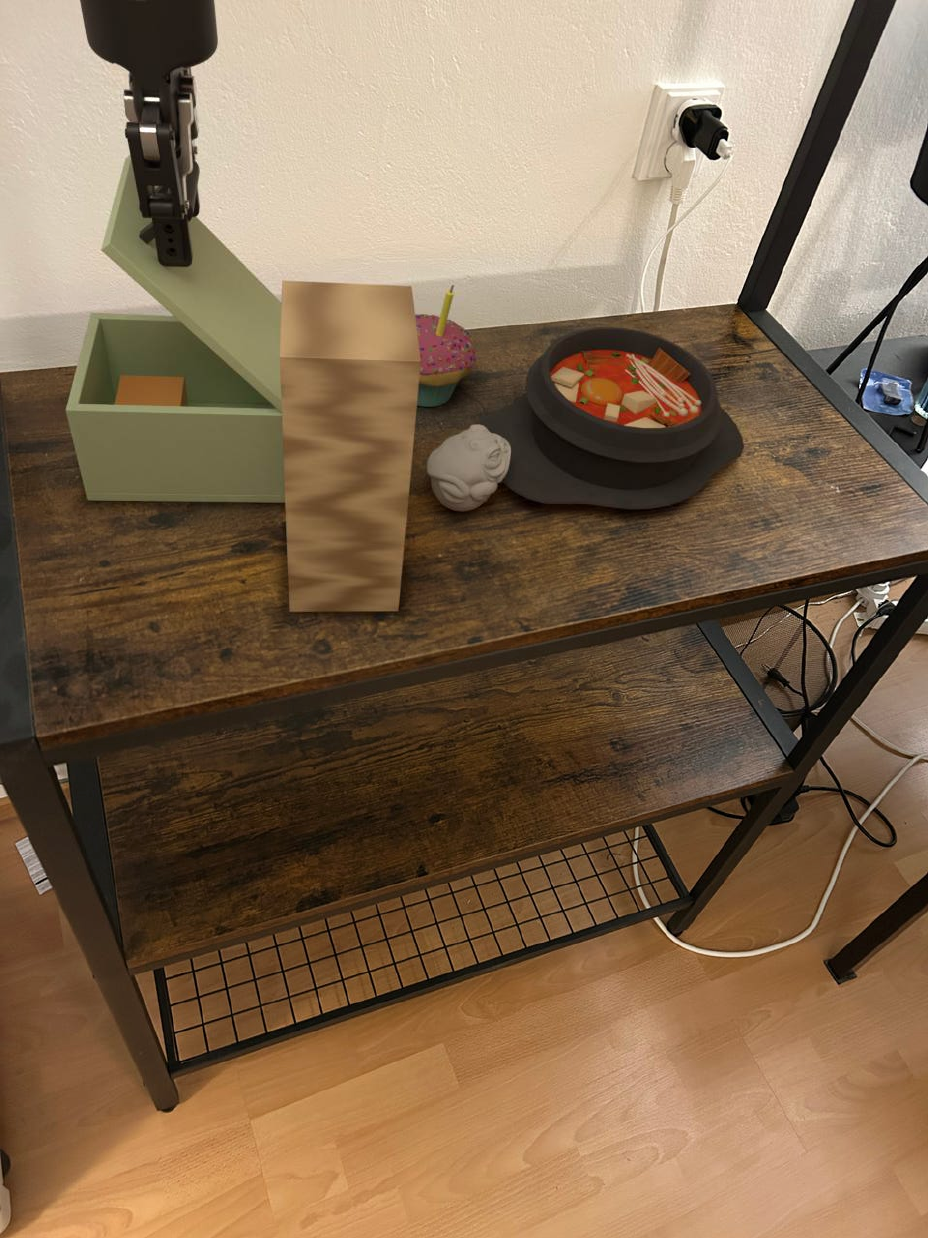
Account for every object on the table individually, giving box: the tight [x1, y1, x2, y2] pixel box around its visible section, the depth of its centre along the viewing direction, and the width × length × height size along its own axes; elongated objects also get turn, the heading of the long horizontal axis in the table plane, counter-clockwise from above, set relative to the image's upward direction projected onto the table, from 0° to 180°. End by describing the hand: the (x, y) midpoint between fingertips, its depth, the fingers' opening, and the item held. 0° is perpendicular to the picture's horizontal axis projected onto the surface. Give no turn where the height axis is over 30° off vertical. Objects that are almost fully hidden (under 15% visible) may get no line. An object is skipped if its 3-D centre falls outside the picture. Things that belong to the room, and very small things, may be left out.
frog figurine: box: [426, 423, 511, 512], centre depth 78 cm, size 6×7×7 cm
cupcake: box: [415, 284, 477, 408], centre depth 86 cm, size 9×8×12 cm
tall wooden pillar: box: [280, 280, 421, 613], centre depth 66 cm, size 8×8×22 cm
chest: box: [65, 312, 285, 504], centre depth 78 cm, size 16×13×9 cm
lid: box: [100, 154, 282, 413], centre depth 69 cm, size 16×13×5 cm
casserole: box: [479, 326, 745, 510], centre depth 84 cm, size 25×19×8 cm
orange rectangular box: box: [115, 375, 188, 407], centre depth 78 cm, size 5×5×5 cm
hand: (180, 237), depth 67 cm, fingers closed on lid, 6 cm apart
